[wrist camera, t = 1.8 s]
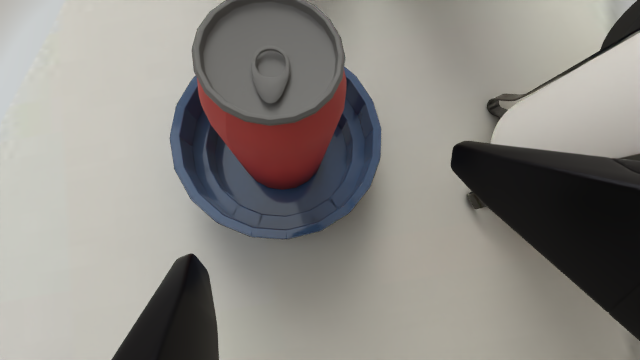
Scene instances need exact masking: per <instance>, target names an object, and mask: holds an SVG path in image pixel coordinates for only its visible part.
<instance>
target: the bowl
mask: <svg viewBox="0 0 640 360" xmlns="http://www.w3.org/2000/svg"><path fill="white" fill-rule="evenodd" d="M344 71H345V76H346V97H345V105H344V110H343V113H342V115H341V117H340V120H339V122H338V124H337V127H336V129H335V131H334V134H333V136H332V139H331V141H330V143H329V146H328V148H327V150H326V153H325V155H324V157H323V160H322V162H321V164H320V166H319V168H318V170H317V172H316V173H315V174H314V175H313V176H312V177H311V178H310V179H309V180H308V181H307V182H306V183H304V184H302V185H300V186H298V187H296V188H290V189H284V190H281V189H275V188H269V187H267V186H265V185H263V184H261V183H259V182H257V181H256V180H255V179H254V178H253V177H252V176H251V175H250V174H249V173H248V172H247V171H246V169H245V168H244V167H243V165H242V164H241V163H240V162H239V160H238V159H237V158H236V156H235V155H234V154H233V153H232V151H231V150H230V149H229V147H228V146H227V145H226V144H225V142H224V141H223V140H222V138H221V137H220V136H219V135H218V133H217V132H216V131H215V129H214V128H213V127H212V126H211V124H210V122H209V120H208V118H207V116H206V114H205V112H204V110H203V108H202V106H201V102H200V98H199V93H198V83H197V76H195V77H193V79H192V80H191V82H190V83H189V85H188V87H187V88H186V90H185V92H184V93H183V95H182V97H181V98H180V100H179V102H178V103H177V106H176V109H175V114H174V119H173V123H172V128H171V133H170V143H171V150H172V156H173V163H174V169H175V171H176V173H177V175H178V177H179V179H180V180H181V182H182V184H183V186H184V188H185V190H186V191H187V193H188V195H189V197H190V199H191V200H192V201H193V202H194V203H195V204H196V205H197V206H199V207H200V208H201V209H202V210H203V211H204V212H205V213H207V214H208V215H209V216H210V217H211V218H212V219H213V220H214V221H216V222H217V223H219V224H221V225H223V226H225V227H228V228H230V229H233V230H235V231H238V232H240V233H242V234H245V235H247V236H250V237H257V238H272V239H291V238H295V237H299V236H303V235H307V234H311V233H315V232H319V231H321V230H323V229H325V228H326V227H328V226H330V225H331V224H333V223H334V222H336V221H337V220H339V219H341V218H342V217H344V216H345V215H347V214H348V213H349V212H351V210H352V209H353V208H354V207H355V205H356V204H357V203H358V202H359V200H360V199H361V198H362V197H363V195H364V194H365V193H366V192H367V190H368V189H369V187H370V186H371V183H372V180H373V178H374V175H375V172H376V169H377V167H378V164H379V161H380V156H381V126H380V123H379V120H378V116H377V113H376V110H375V107H374V103H373V101H372V99H371V97H370V96H369V94H368V93H367V92H366V90H365V89H364V87H363V86H362V84H361V83H360V81H359V80H358V78H357V77H356V76H355V75H354V74H353V73H352V72H350V71H349V70H348V69H347V68H346V67H344Z"/></svg>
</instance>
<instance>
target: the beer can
mask: <svg viewBox="0 0 640 360" xmlns="http://www.w3.org/2000/svg"><path fill="white" fill-rule="evenodd" d="M192 58H193V67H194V72H195V74H196V76H197V83H198V93H199V98H200V102H201V106H202V108H203V110H204V112H205V114H206V116H207V118H208V120H209V122H210V124H211V126H212V127H213V128H214V129H215V131H216V132H217V133H218V135H219V136H220V137H221V138H222V140H223V141H224V142H225V144H226V145H227V146H228V147H229V149H230V150H231V151H232V153H233V154H234V155H235V156H236V158H237V159H238V160H239V162H240V163H241V164H242V165H243V167H244V168H245V169H246V171H247V172H248V173H249V174H250V175H251V176H252V177H253V178H254V179H255V180H256V181H257V182H259V183H261V184H263V185H265V186H267V187H269V188H275V189H281V190H284V189H290V188H296V187H298V186H300V185H302V184H304V183H306V182H307V181H308V180H309V179H310V178H311V177H312V176H313V175H314V174H315V173H316V172H317V170H318V168H319V166H320V164H321V162H322V160H323V157H324V155H325V153H326V150H327V148H328V146H329V143H330V141H331V139H332V136H333V134H334V131H335V129H336V127H337V124H338V122H339V120H340V117H341V115H342V113H343V110H344V105H345V97H346V76H345V71H344V63H345V54H344V50H343V45H342V41H341V37H340V35H339V34H338V32H337V30H336V29H335V27H334V25H333V24H332V22H331V20H330V19H329V18H328V17H327V16H326V15H324V14H323V13H322V12H321V11H320V10H319V9H318V8H317V7H316V6H315V5H313V4H311V3H309V2H307V1H305V0H225V1H224V2H223V3H221V4H220V5H218V6H217V7H216V8H214V9H213V10H211V11H210V12H209V14H208V15H207V16H206V18H205V19H204V20H203V22H202V23H201V25H200V26H199V27H198V29H197V32H196V36H195V39H194V43H193V46H192Z"/></svg>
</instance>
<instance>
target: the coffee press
mask: <svg viewBox="0 0 640 360" xmlns="http://www.w3.org/2000/svg"><path fill="white" fill-rule="evenodd" d="M597 56H598V57H597ZM590 60H591V61H590ZM583 64H584V65H583ZM550 83H551V84H550ZM548 84H549V85H548ZM546 85H547V86H546ZM543 87H544V88H543ZM541 88H542V89H541ZM539 89H540V90H539ZM537 90H538V91H537ZM536 91H537V92H536ZM534 92H535V93H534ZM532 93H533V94H532ZM529 94H532V95H530V96H528V97H526V98H525V99H523V100H521V101H520V102H518V103H517V104H515V105H514V106H512V107H511V108H510V109H509V110H507V109H504V108H502V107H501V106H500V105H499V100H500V101H515V100H518V99H520V98H523V97H525V96H527V95H529ZM487 109H488V111H489V112H490V113H491V114H493V115H495V116H498V117H501V119H500V120H499V122H498V123H497V125H496V127H495V129H494V132H493V135H492V138H491V143H490V144H498V145H507V146H515V147H524V148H532V149H541V150H550V151H558V152H567V153H575V154H584V155H592V156H601V157H609V158H619V159H627V160H636V161H640V0H637V1H636V2H635V3H634V4H633V5H632V6H631V7H630V8H629V9H628V10H627V11H626V12H625V13H624V14H623V15H622V16H621V17H620V18H619V20H618V21H617V22H616V23H615V25H614V26H613V27H612V28H611V30H610V31H609V33H608V35H607V36H606V38H605V40H604V42H603V44H602V47H601V49H600V51H598V52H597V53H595V54H593V55H592V56H590V57H588V58H587V59H585V60H583V61H581V62H580V63H578V64H576V65H575V66H573V67H571V68H569V69H568V70H566V71H564V72H563V73H561V74H559V75H557V76H556V77H554V78H552V79H551V80H549V81H547V82H545V83H544V84H542V85H540V86H539V87H537V88H535V89H533V90H532V91H530V92H528V93H527V94H521V95H517V94H502V95H500V96H498V97H495V98H493V99H491V100H489V101H488V103H487ZM467 196H468V198H469V200H470V202H471V203H472V205H473V207H474V209H479V208H483V207H486V205H485V204H484V203H483V202H482V201H481V200H480V199H479V198H478V197H477V196H476V195H475V194H474V193H473V192H470V193H468V194H467Z"/></svg>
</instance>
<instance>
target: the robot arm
mask: <svg viewBox="0 0 640 360" xmlns="http://www.w3.org/2000/svg"><path fill="white" fill-rule="evenodd" d="M451 168H452V170H453V171H454V173H455V174H456V175H457V176H458V177H459V178H460V179H461V180H462V181H463V182H464V183H465V184H466V185H467V186H468V188H469V189H470V190H471V191H472V192H473V193H474V194H475V195H476V196H477V197H478V198H479V199H480V200H481V201H482V202H483V203H484V204H485V205H486V206H487V207H488V208H489V209H491V210H492V211H493V212H494V213H495V214H496V215H497V216H499V217H500V218H501V219H502V220H503V221H504V222H505V223H507V224H508V225H509V226H510V227H511V228H512V229H513V230H514V231H516V232H517V233H518V234H519V235H520V236H521V237H522V238H524V239H525V240H526V241H527V242H528V243H529V244H530V245H532V246H533V247H534V248H535V249H536V250H537V251H538V252H540V253H541V254H542V255H543V256H544V257H545V258H546V259H547V260H549V261H550V262H551V263H552V264H553V265H554V266H555V267H557V268H558V269H559V270H560V271H561V272H562V273H563V274H565V275H566V276H567V277H568V278H569V279H570V280H571V281H572V282H574V283H575V284H576V285H577V286H578V287H579V288H580V289H582V290H583V291H584V292H585V293H586V294H587V295H588V296H590V297H591V298H592V299H593V300H594V301H595V302H596V303H598V304H599V305H600V306H601V307H602V308H603V309H604V310H605V311H607V312H609V314H610V315H611V316H612V317H613V318H614V319H615V320H616V321H618V322H619V323H620V324H621V325H622V326H623V327H624V328H626V329H627V330H628V331H629V332H630V333H631V334H632V335H634V336H635V337H636V338H637V339H638V340H639V341H640V161H636V160H627V159H619V158H609V157H601V156H592V155H584V154H575V153H567V152H558V151H550V150H541V149H532V148H524V147H515V146H507V145H498V144H490V143H481V142H472V141H463V142H461V143H459V144H456V145H455V146H454V147H453V151H452V158H451ZM112 360H219V353H218V332H217V321H216V315H215V309H214V303H213V296H212V290H211V284H210V278H209V274H208V271H207V269H206V268H205V267H204V266H203V264H202V263H201V262H200V261H199V259H198V258H197V257H196V256H195V255H194V254H188V255H185V256H183V257H180V258H178V259H177V260H176V261H175V263H174V264H173V266H172V267H171V269H170V270H169V272H168V273H167V275H166V277H165V278H164V280H163V281H162V283H161V284H160V286H159V287H158V289H157V290H156V292H155V294H154V295H153V297H152V298H151V300H150V301H149V303H148V304H147V306H146V307H145V309H144V310H143V312H142V314H141V315H140V317H139V318H138V320H137V321H136V323H135V324H134V326H133V327H132V329H131V331H130V332H129V334H128V335H127V337H126V338H125V340H124V341H123V343H122V344H121V346H120V347H119V349H118V351H117V352H116V354H115V355H114V357H113V358H112Z"/></svg>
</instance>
